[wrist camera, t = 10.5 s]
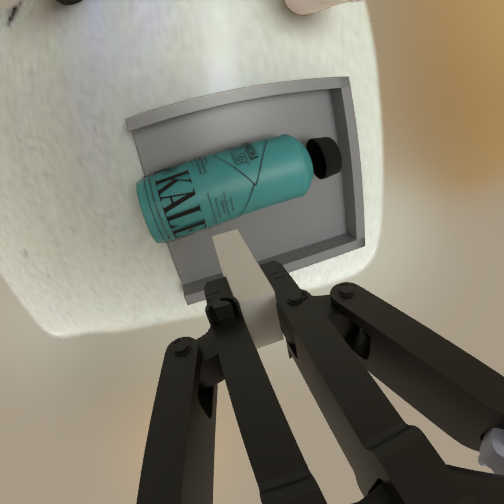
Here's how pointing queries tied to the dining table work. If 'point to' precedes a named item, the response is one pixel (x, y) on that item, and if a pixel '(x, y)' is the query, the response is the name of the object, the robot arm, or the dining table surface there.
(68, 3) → the drinking cup
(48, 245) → the dining table surface
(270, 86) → the charcoal tray
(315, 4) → the smoothie
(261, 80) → the dining table surface
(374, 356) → the robot arm
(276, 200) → the beverage bottle
